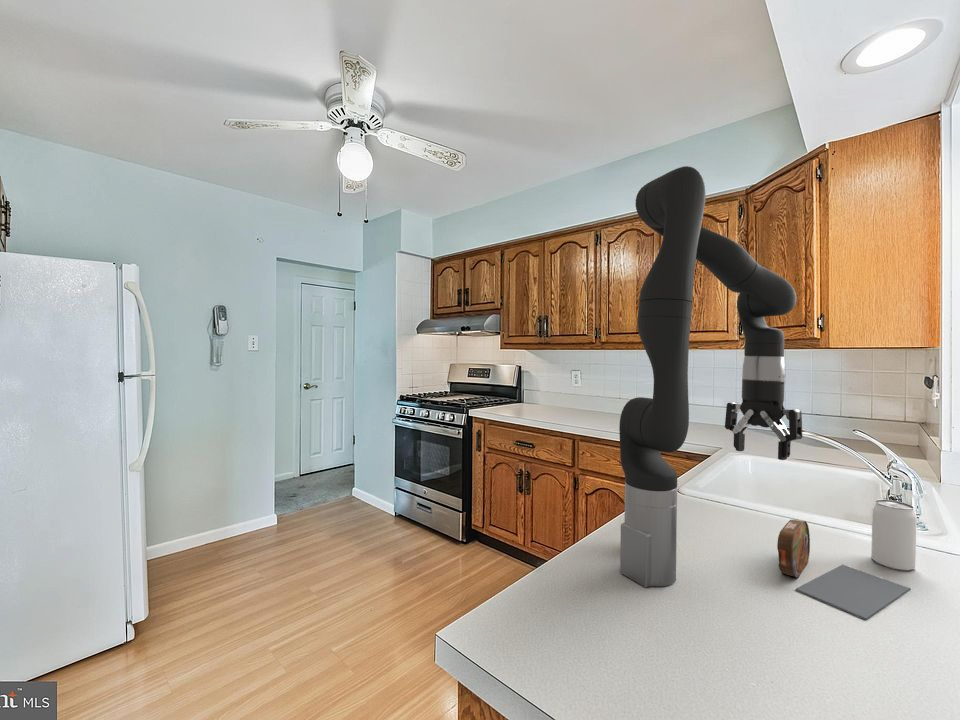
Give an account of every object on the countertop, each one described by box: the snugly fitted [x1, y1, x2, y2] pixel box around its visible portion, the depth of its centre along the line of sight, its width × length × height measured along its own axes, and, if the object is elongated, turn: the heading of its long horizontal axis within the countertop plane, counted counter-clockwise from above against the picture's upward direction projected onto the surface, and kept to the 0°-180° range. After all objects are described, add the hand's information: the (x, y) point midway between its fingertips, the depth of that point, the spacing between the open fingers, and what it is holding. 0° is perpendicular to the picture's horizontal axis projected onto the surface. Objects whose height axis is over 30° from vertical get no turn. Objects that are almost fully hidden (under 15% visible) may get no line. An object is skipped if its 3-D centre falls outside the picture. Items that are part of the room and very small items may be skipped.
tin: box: [776, 519, 811, 578], centre depth 87 cm, size 15×3×8 cm, turn 134°
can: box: [870, 498, 918, 572], centre depth 89 cm, size 6×6×12 cm
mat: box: [795, 564, 911, 621], centre depth 79 cm, size 18×10×1 cm, turn 120°
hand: (760, 455), depth 94 cm, fingers open, 8 cm apart
